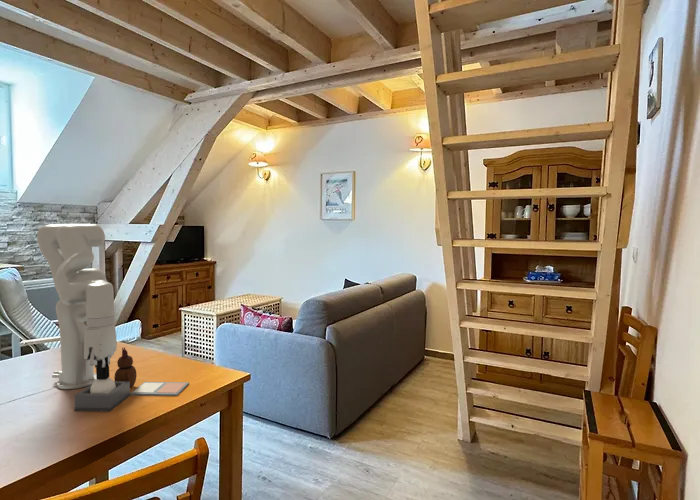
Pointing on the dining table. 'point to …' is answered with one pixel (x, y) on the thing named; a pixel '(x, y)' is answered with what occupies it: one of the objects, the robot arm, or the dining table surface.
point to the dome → (103, 386)
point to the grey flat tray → (160, 388)
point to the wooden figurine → (125, 369)
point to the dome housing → (102, 398)
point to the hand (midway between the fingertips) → (103, 378)
